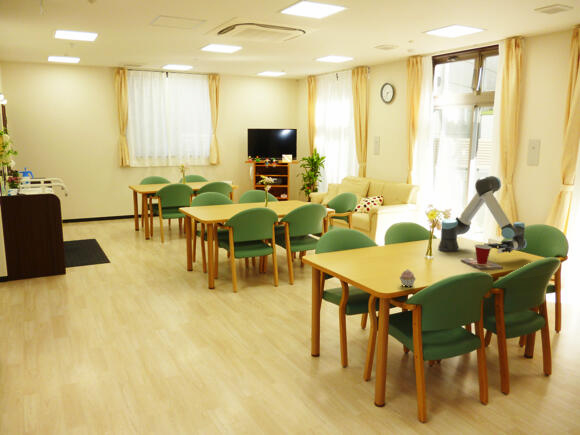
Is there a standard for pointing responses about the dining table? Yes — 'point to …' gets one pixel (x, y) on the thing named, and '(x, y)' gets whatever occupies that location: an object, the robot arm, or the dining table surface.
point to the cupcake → (407, 278)
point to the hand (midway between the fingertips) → (489, 249)
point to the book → (481, 266)
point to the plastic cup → (482, 253)
